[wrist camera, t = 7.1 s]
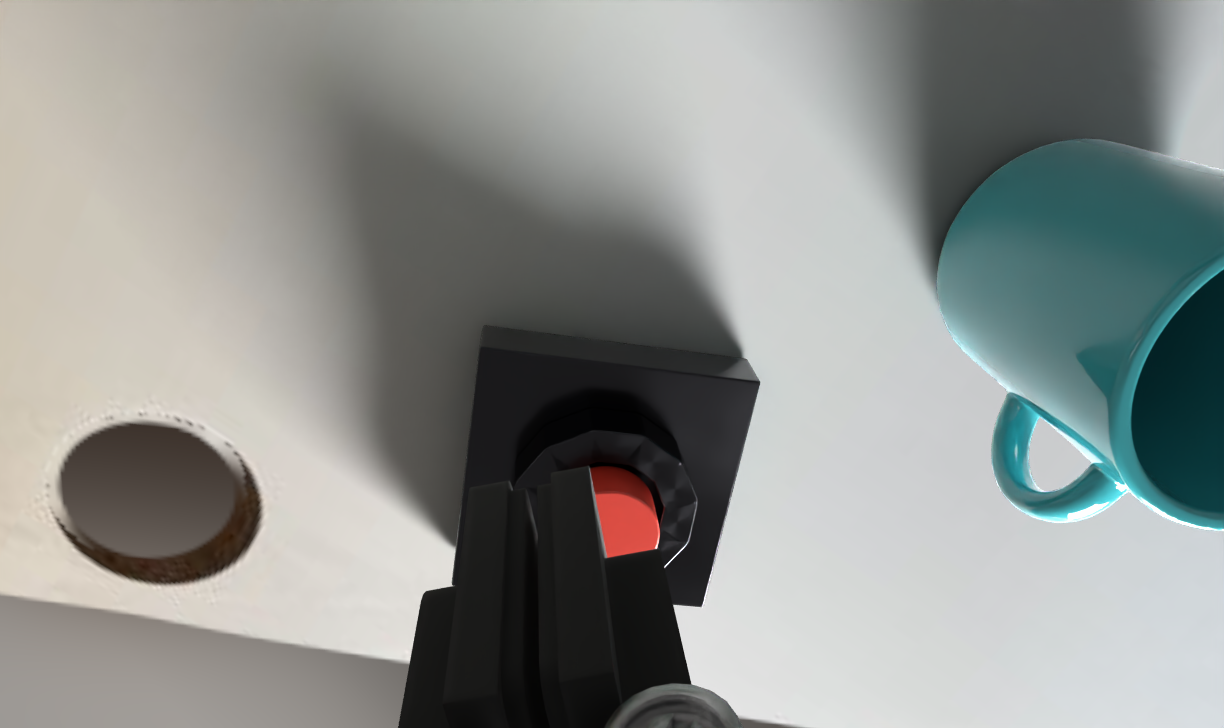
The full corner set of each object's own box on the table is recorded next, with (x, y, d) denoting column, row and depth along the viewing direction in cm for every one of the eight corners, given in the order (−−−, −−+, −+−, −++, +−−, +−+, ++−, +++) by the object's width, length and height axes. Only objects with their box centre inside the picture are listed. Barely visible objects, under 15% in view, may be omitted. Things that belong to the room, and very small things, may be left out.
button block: (456, 552, 35) (446, 617, 32) (483, 324, 32) (476, 367, 28) (694, 574, 37) (711, 638, 33) (747, 357, 33) (773, 403, 29)
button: (545, 547, 31) (546, 577, 30) (560, 459, 30) (561, 486, 28) (643, 556, 32) (649, 586, 30) (662, 470, 30) (669, 497, 29)
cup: (845, 387, 34) (980, 561, 23) (1018, 92, 30) (1272, 145, 19) (1031, 461, 36) (1231, 651, 25) (1216, 195, 32) (1541, 291, 21)
